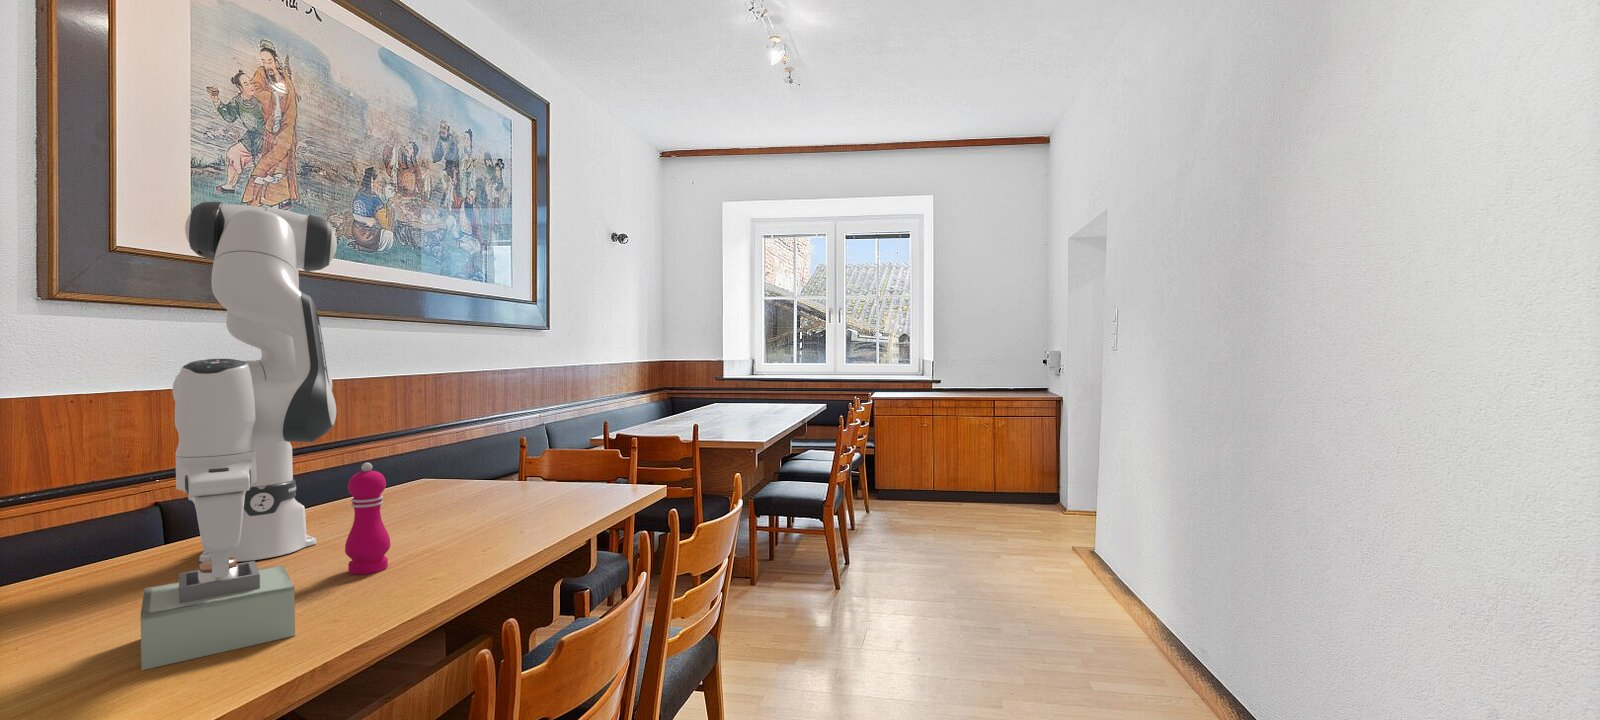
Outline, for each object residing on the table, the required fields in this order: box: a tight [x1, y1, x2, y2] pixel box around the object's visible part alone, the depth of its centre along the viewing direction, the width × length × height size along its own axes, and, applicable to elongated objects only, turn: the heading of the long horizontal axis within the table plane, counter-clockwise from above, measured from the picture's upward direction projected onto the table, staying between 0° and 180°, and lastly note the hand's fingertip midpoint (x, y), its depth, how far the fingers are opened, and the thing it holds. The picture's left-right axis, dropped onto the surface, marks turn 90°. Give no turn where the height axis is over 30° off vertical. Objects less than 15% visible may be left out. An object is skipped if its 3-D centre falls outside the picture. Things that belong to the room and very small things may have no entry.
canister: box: [198, 557, 238, 584], centre depth 100 cm, size 4×4×12 cm
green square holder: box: [139, 560, 296, 671], centre depth 100 cm, size 14×16×9 cm
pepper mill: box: [344, 462, 391, 576], centre depth 130 cm, size 7×7×20 cm
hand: (219, 569), depth 100 cm, fingers open, 6 cm apart
